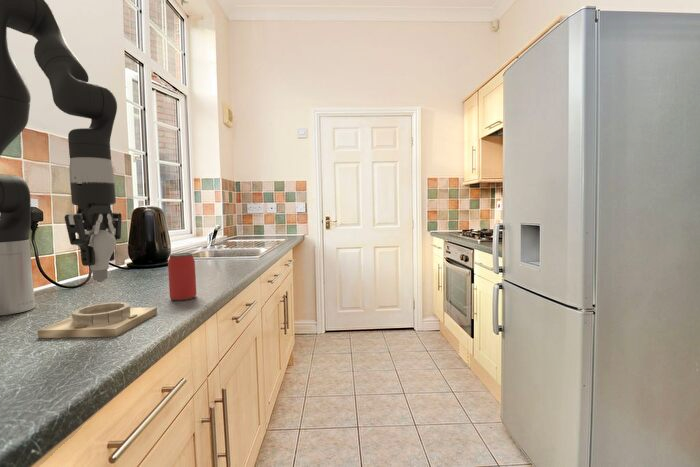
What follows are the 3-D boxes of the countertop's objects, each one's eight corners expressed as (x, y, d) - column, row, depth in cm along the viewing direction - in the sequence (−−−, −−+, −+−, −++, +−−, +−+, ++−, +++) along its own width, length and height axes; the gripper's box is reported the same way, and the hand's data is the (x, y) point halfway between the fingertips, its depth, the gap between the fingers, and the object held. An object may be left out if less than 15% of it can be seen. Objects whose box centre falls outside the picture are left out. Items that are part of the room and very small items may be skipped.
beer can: (191, 294, 105) (188, 252, 104) (200, 297, 100) (198, 253, 100) (166, 298, 100) (163, 254, 100) (175, 302, 96) (172, 256, 95)
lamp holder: (38, 337, 71) (36, 320, 71) (92, 314, 86) (91, 300, 86) (115, 336, 71) (114, 318, 71) (157, 313, 86) (156, 298, 86)
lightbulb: (124, 279, 81) (121, 228, 80) (104, 284, 74) (102, 229, 74) (96, 279, 81) (94, 229, 80) (74, 284, 75) (72, 230, 74)
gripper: (98, 184, 84) (104, 258, 85) (46, 179, 69) (53, 269, 71) (131, 183, 84) (136, 257, 85) (85, 178, 69) (93, 268, 70)
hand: (99, 262), depth 78 cm, fingers closed on lightbulb, 5 cm apart
